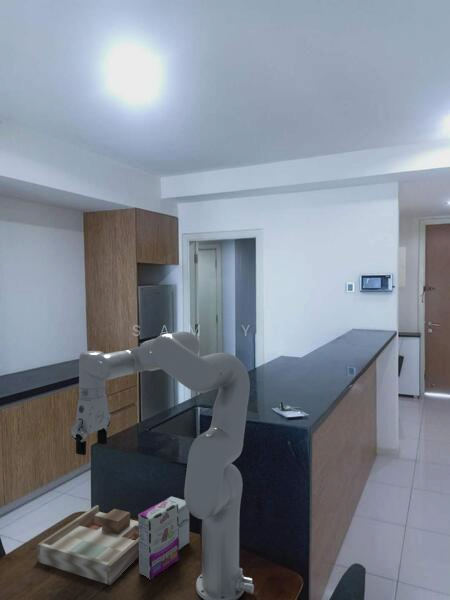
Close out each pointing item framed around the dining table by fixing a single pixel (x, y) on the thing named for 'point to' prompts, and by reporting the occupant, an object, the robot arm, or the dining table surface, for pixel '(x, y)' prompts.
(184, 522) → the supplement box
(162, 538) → the candy bar box
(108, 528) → the walnut block
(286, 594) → the dining table surface
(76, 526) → the tray
